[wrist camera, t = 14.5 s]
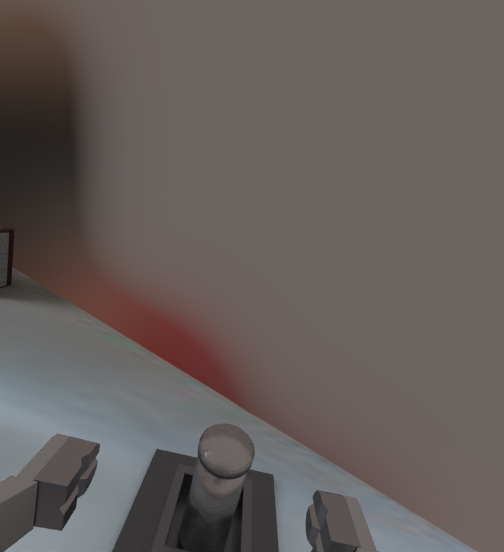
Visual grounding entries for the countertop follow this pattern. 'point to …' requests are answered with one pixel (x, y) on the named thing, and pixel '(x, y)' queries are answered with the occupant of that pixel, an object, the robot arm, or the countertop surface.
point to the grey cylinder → (215, 487)
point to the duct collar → (171, 504)
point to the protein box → (6, 255)
